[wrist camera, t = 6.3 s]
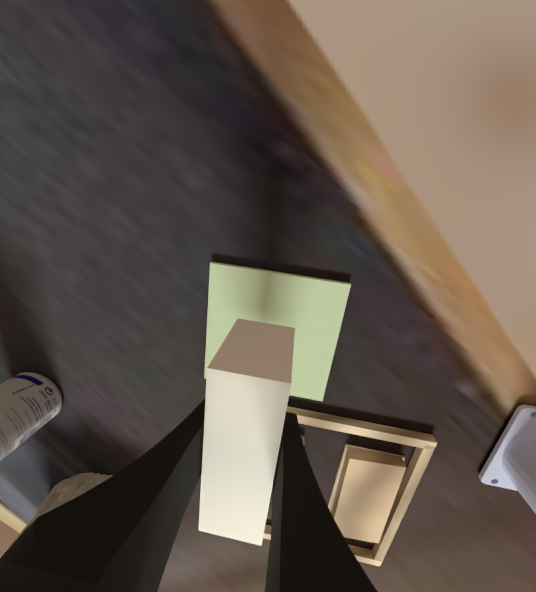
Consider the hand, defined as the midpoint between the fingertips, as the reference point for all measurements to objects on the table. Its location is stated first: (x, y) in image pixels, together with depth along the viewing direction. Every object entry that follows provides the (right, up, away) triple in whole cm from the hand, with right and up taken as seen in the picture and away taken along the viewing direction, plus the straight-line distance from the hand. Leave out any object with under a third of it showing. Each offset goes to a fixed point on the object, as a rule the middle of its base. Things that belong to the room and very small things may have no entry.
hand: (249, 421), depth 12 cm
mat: (+1, +3, +8) cm, 8 cm away
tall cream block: (0, 0, +2) cm, 3 cm away
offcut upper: (+10, -12, +11) cm, 19 cm away
